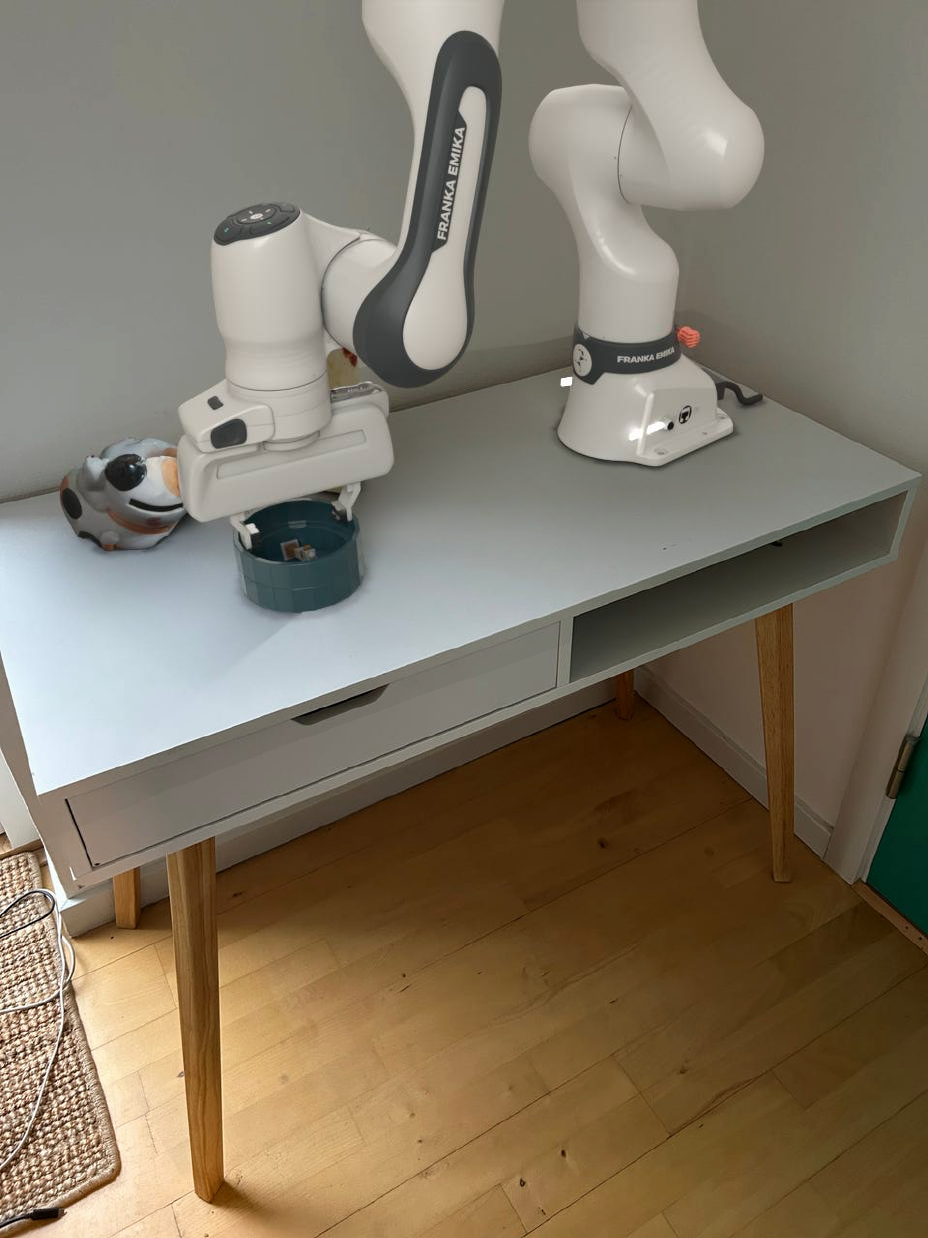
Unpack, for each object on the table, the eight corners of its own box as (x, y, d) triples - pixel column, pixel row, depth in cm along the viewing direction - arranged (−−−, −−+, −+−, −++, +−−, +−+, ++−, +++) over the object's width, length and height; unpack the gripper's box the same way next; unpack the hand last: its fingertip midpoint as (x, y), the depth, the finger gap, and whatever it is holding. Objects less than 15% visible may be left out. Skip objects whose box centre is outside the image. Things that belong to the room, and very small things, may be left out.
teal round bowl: (336, 536, 106) (331, 487, 102) (383, 594, 98) (380, 543, 94) (226, 566, 101) (217, 516, 98) (265, 630, 93) (257, 578, 89)
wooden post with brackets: (313, 594, 95) (301, 549, 94) (290, 583, 102) (279, 541, 101) (330, 589, 96) (319, 544, 95) (306, 578, 103) (296, 537, 102)
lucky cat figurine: (192, 482, 115) (217, 399, 105) (206, 566, 110) (234, 488, 99) (54, 474, 108) (66, 384, 98) (61, 564, 103) (75, 479, 92)
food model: (380, 494, 113) (369, 324, 101) (324, 506, 111) (306, 334, 99) (352, 457, 120) (339, 294, 108) (299, 468, 118) (279, 303, 106)
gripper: (372, 365, 94) (381, 491, 102) (159, 411, 86) (187, 544, 95) (401, 389, 89) (407, 519, 98) (178, 440, 82) (206, 577, 90)
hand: (297, 532), depth 96 cm, fingers open, 8 cm apart
